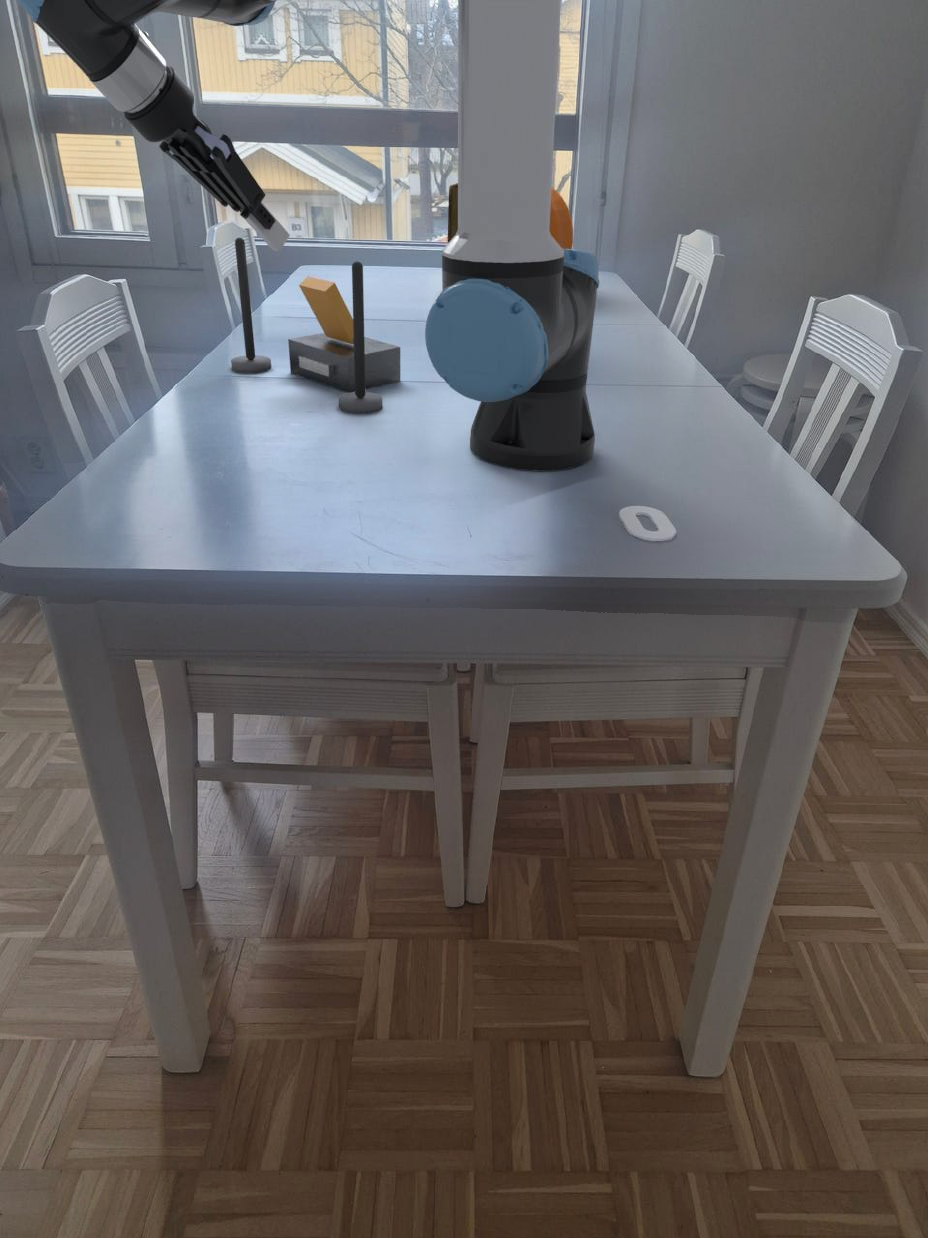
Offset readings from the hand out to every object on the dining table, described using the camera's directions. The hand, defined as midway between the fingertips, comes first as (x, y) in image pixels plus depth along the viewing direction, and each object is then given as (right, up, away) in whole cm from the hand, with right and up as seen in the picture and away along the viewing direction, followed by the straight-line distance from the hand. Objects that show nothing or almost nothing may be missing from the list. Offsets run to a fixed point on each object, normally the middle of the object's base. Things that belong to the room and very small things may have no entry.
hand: (281, 242), depth 112 cm
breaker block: (+6, -13, +16) cm, 22 cm away
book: (+25, +2, +43) cm, 50 cm away
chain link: (+43, -41, -26) cm, 65 cm away
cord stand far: (-9, -11, +19) cm, 23 cm away
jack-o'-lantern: (+34, +25, +81) cm, 91 cm away
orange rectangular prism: (+6, -8, +13) cm, 17 cm away
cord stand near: (+10, -21, +4) cm, 24 cm away
